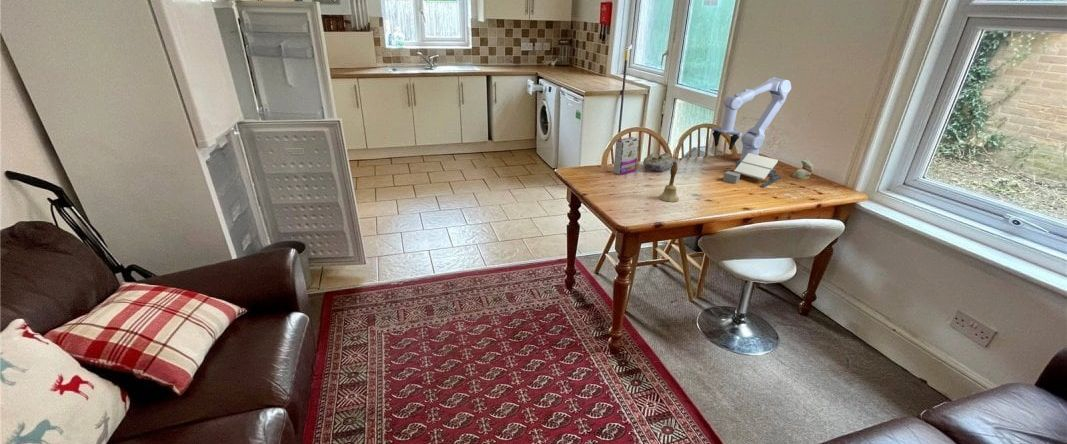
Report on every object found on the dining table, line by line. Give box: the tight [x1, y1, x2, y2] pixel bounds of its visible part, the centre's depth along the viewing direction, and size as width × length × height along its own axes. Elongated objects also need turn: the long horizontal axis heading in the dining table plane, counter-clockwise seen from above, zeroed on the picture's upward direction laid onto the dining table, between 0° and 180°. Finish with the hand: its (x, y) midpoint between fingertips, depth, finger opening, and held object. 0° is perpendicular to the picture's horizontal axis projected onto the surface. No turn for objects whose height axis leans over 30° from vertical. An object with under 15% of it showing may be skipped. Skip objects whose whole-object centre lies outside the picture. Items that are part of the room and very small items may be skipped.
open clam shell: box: [791, 157, 815, 180], centre depth 221 cm, size 6×8×10 cm
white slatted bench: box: [732, 159, 782, 189], centre depth 219 cm, size 20×18×6 cm
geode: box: [642, 152, 677, 173], centre depth 227 cm, size 17×9×15 cm
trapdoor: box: [733, 153, 779, 181], centre depth 217 cm, size 14×14×1 cm
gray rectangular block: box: [722, 170, 742, 185], centre depth 214 cm, size 4×4×6 cm
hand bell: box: [658, 161, 680, 203], centre depth 190 cm, size 8×8×16 cm
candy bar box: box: [612, 136, 640, 176], centre depth 220 cm, size 11×5×16 cm, turn 126°
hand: (723, 147), depth 233 cm, fingers open, 7 cm apart
